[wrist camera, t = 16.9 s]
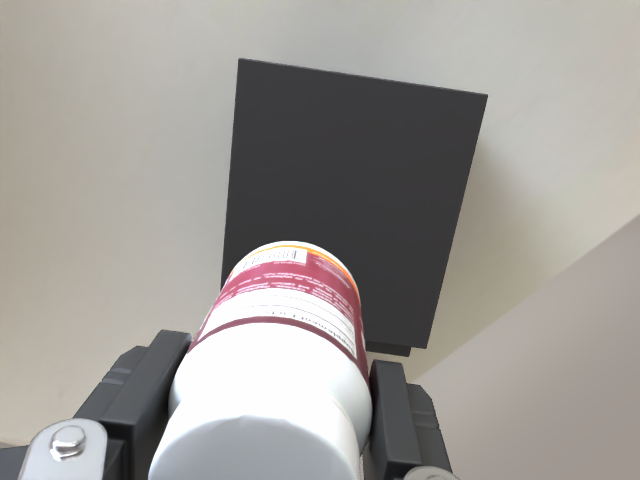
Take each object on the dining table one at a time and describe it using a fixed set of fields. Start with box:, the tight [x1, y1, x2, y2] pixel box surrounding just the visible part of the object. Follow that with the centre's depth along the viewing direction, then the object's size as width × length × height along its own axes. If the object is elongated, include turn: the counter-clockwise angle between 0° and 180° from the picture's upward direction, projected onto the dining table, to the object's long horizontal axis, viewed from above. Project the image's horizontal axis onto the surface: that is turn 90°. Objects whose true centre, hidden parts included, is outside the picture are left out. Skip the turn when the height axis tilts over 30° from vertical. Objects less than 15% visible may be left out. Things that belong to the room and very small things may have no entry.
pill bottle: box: [148, 241, 373, 480], centre depth 13 cm, size 5×5×8 cm
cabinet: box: [220, 58, 488, 349], centre depth 29 cm, size 14×12×10 cm
